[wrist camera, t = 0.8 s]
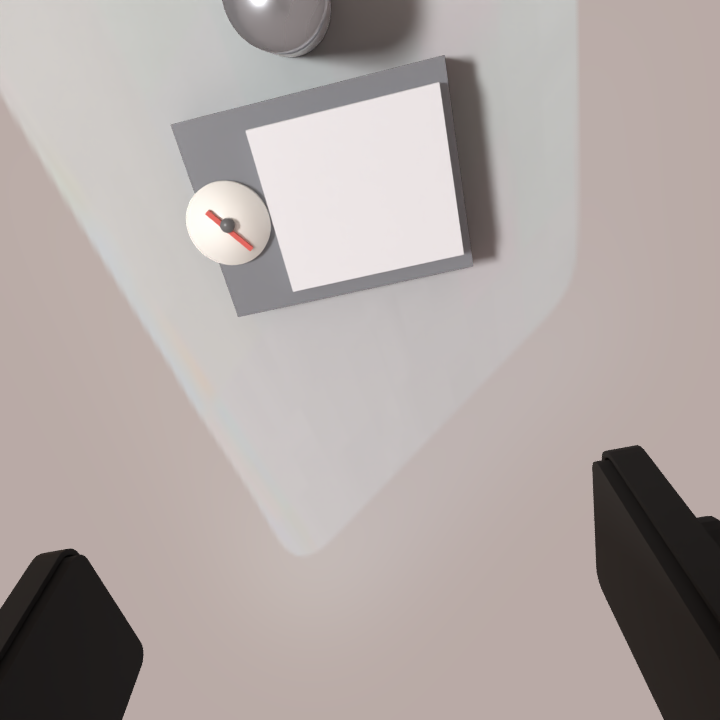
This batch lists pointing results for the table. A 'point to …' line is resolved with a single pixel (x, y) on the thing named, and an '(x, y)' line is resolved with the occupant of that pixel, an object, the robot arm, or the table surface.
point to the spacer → (280, 24)
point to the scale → (329, 188)
